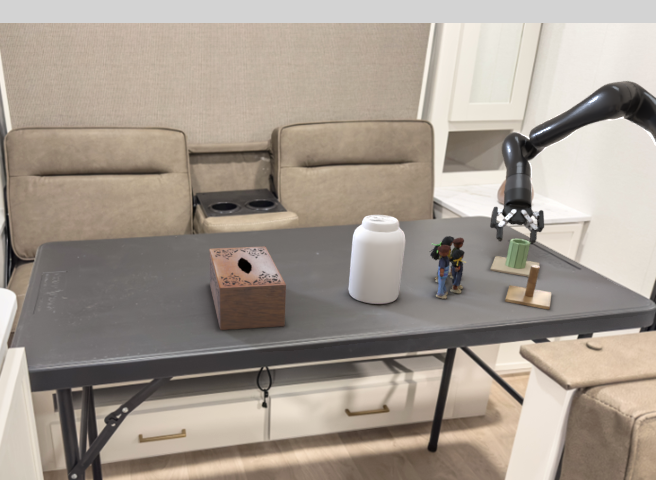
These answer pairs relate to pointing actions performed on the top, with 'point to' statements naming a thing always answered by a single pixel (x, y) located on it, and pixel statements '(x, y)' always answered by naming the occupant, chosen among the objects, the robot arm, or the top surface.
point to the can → (376, 260)
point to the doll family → (445, 257)
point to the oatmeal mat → (501, 267)
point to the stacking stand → (529, 292)
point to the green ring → (517, 253)
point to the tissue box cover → (246, 288)
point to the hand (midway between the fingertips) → (516, 241)
